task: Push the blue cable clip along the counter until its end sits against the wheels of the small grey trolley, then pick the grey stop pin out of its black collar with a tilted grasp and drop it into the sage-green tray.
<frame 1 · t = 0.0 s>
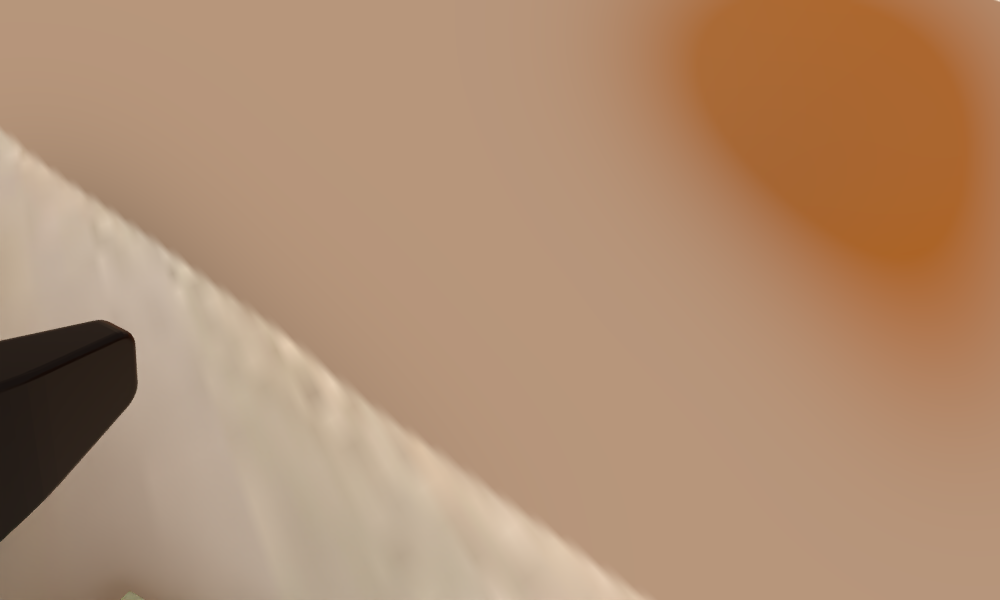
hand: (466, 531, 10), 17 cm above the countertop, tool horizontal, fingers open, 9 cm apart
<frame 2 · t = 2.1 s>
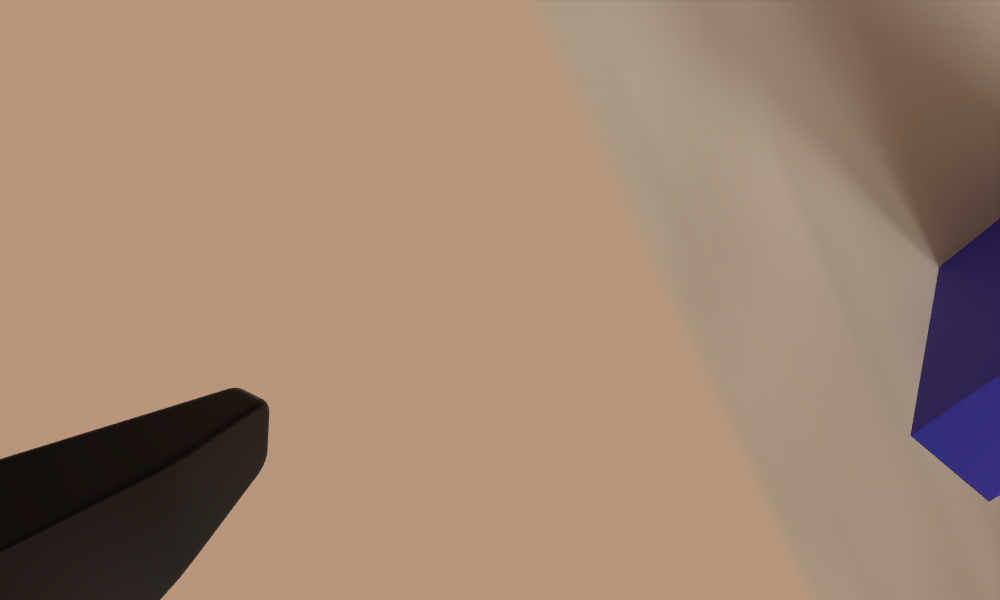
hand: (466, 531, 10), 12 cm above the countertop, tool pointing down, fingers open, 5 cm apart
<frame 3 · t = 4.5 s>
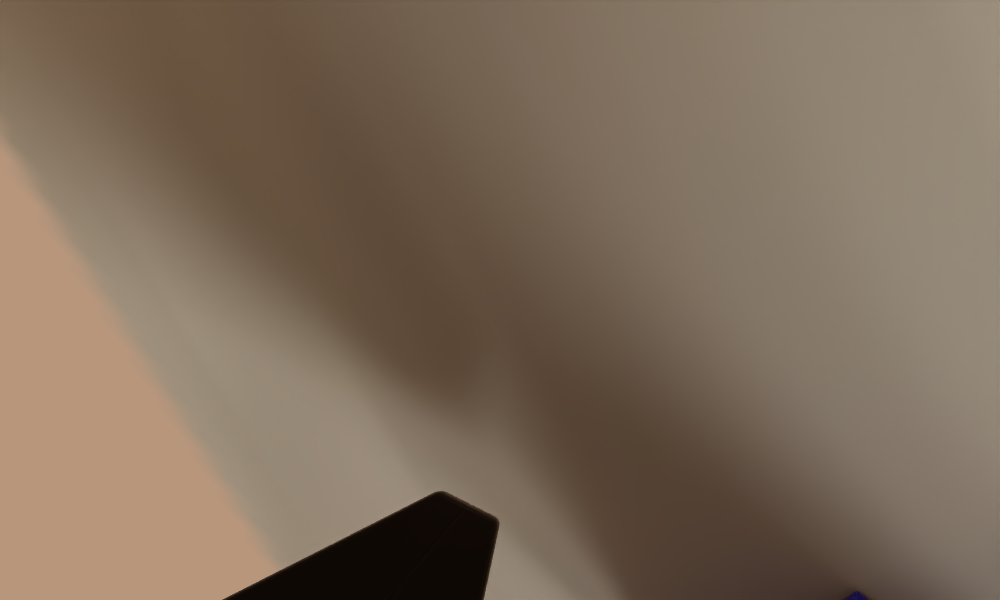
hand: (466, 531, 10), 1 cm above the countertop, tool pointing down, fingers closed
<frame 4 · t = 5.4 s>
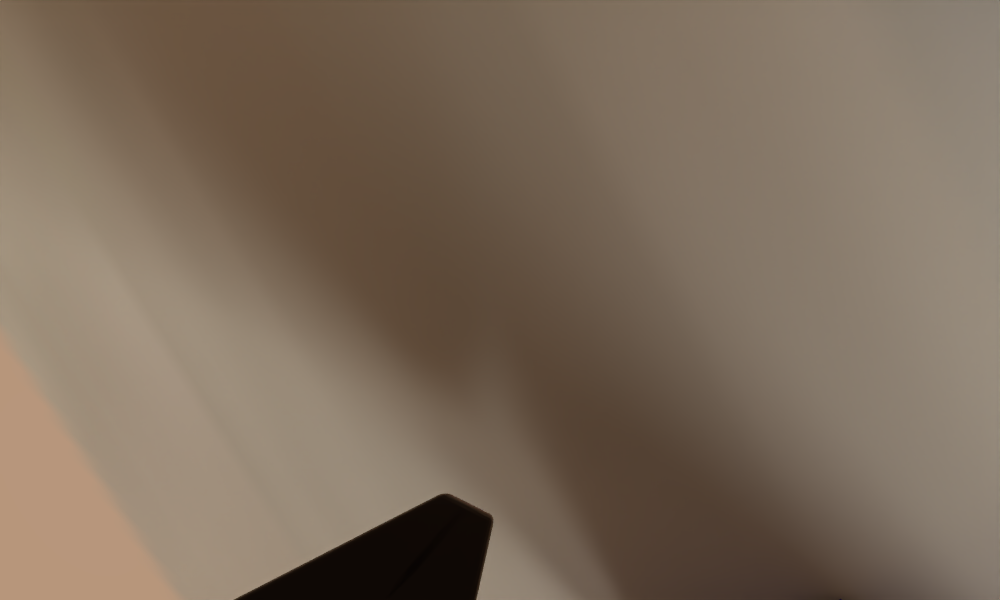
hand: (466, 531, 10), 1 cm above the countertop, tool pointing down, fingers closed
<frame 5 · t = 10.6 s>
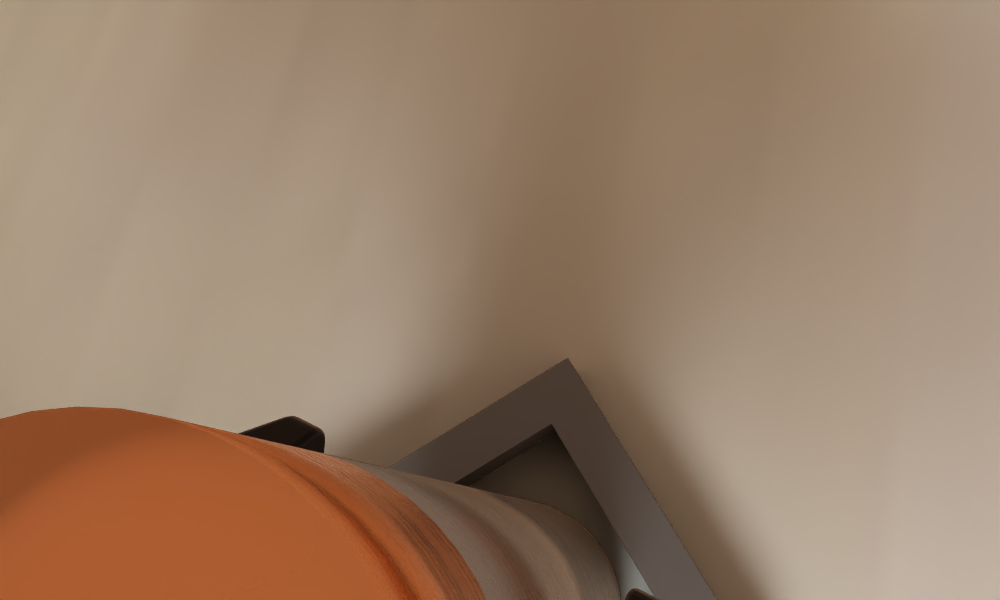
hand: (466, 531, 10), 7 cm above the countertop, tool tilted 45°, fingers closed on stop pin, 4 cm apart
when the fingers open (10 cm above the countertop, at t = 13.6 s): stop pin drops 2 cm, resting on tray.
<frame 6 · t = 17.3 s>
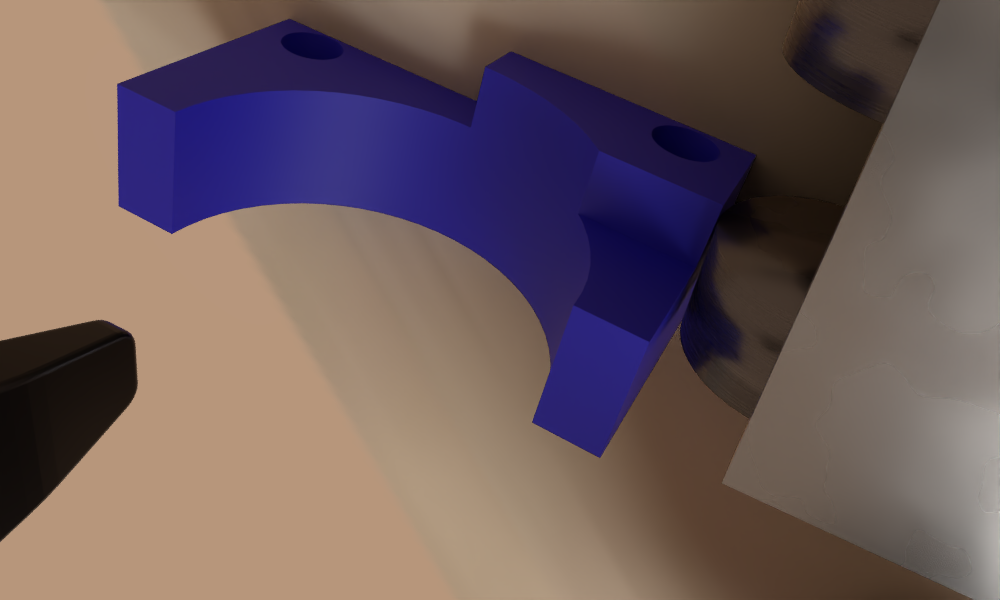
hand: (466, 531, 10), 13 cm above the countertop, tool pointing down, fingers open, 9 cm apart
cable clip: (496, 132, 23), on the countertop
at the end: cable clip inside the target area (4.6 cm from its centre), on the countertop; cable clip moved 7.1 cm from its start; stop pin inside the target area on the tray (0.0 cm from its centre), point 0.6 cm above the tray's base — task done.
